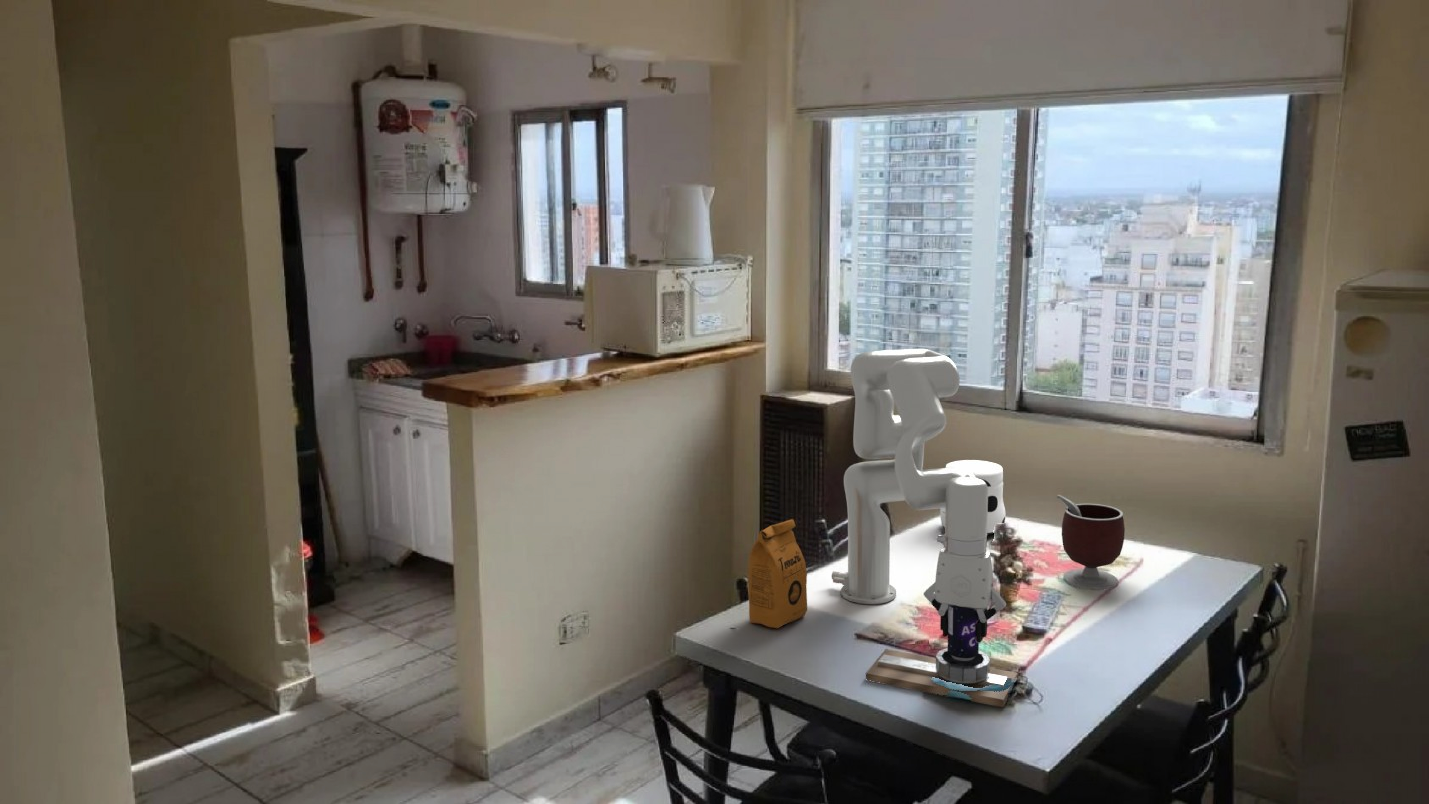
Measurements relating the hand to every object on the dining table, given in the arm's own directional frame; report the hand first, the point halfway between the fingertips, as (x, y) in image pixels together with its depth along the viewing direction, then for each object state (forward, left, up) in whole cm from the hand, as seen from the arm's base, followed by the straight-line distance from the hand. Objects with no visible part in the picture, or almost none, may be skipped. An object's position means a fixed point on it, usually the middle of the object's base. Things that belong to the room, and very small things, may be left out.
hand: (963, 636), depth 198 cm
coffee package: (-44, +14, -10) cm, 47 cm away
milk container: (-21, +93, -10) cm, 95 cm away
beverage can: (0, 0, -4) cm, 4 cm away
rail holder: (-4, 0, -8) cm, 9 cm away
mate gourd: (+13, +66, -10) cm, 68 cm away
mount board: (-4, 0, -10) cm, 11 cm away
